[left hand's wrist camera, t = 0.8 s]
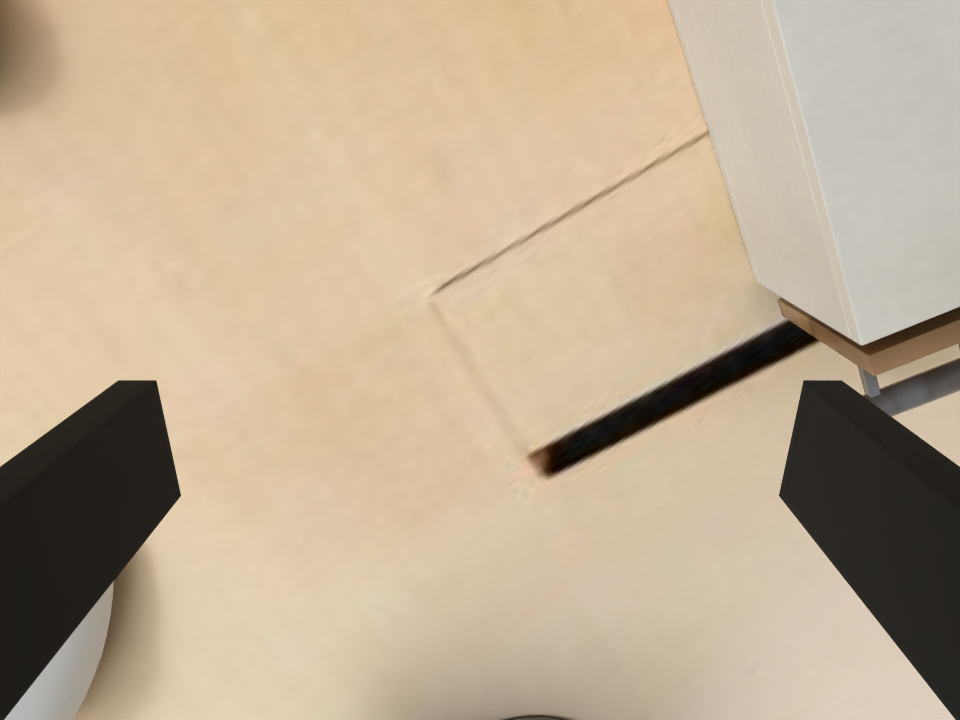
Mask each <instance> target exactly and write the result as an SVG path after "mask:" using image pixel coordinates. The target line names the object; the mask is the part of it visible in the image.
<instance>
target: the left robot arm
mask: <svg viewBox="0 0 960 720" xmlns="http://www.w3.org/2000/svg"><path fill="white" fill-rule="evenodd" d="M180 496H181V494H180V489H179V484H178V480H177V475H176V470H175V466H174V461H173V456H172V452H171V447H170V442H169V438H168V433H167V428H166V424H165V419H164V414H163V410H162V405H161V400H160V396H159V391H158V386H157V382H156V381H117V382H116V383H114V384H113V385H112V386H110V387H109V388H108V389H106V390H105V391H103V392H102V393H101V394H99V395H98V396H97V397H95V398H94V399H93V400H91V401H90V402H88V403H87V404H86V405H84V406H83V407H82V408H80V409H79V410H77V411H76V412H75V413H73V414H72V415H71V416H69V417H68V418H67V419H65V420H64V421H62V422H61V423H60V424H58V425H57V426H56V427H54V428H53V429H51V430H50V431H49V432H47V433H46V434H45V435H43V436H42V437H41V438H39V439H38V440H36V441H35V442H34V443H32V444H31V445H30V446H28V447H27V448H25V449H24V450H23V451H21V452H20V453H19V454H17V455H16V456H15V457H13V458H12V459H10V460H9V461H8V462H6V463H5V464H4V465H2V466H1V467H0V720H4V719H5V718H6V717H7V716H8V714H9V713H10V712H11V711H12V709H13V708H14V707H15V705H16V704H17V703H18V702H19V700H20V699H21V698H22V697H23V695H24V694H25V693H26V692H27V690H28V689H29V688H30V686H31V685H32V684H33V683H34V681H35V680H36V679H37V678H38V676H39V675H40V674H41V673H42V671H43V670H44V669H45V667H46V666H47V665H48V664H49V662H50V661H51V660H52V659H53V657H54V656H55V655H56V653H57V652H58V651H59V650H60V648H61V647H62V646H63V645H64V643H65V642H66V641H67V640H68V638H69V637H70V636H71V634H72V633H73V632H74V631H75V629H76V628H77V627H78V626H79V624H80V623H81V622H82V621H83V619H84V618H85V617H86V615H87V614H88V613H89V612H90V610H91V609H92V608H93V607H94V605H95V604H96V603H97V601H98V600H99V599H100V598H101V596H102V595H103V594H104V593H105V591H106V590H107V589H108V588H109V586H110V585H111V584H112V582H113V581H114V580H115V579H116V577H117V576H118V575H119V574H120V572H121V571H122V570H123V569H124V567H125V566H126V565H127V563H128V562H129V561H130V560H131V558H132V557H133V556H134V555H135V553H136V552H137V551H138V550H139V548H140V547H141V546H142V544H143V543H144V542H145V541H146V539H147V538H148V537H149V536H150V534H151V533H152V532H153V530H154V529H155V528H156V527H157V525H158V524H159V523H160V522H161V520H162V519H163V518H164V517H165V515H166V514H167V513H168V511H169V510H170V509H171V508H172V506H173V505H174V504H175V503H176V501H177V500H178V499H179V498H180ZM779 496H780V498H781V499H782V500H783V501H784V503H785V504H786V505H787V506H788V508H789V509H790V510H791V511H792V513H793V514H794V515H795V517H796V518H797V519H798V520H799V522H800V523H801V524H802V525H803V527H804V528H805V529H806V530H807V532H808V533H809V534H810V536H811V537H812V538H813V539H814V541H815V542H816V543H817V544H818V546H819V547H820V548H821V550H822V551H823V552H824V553H825V555H826V556H827V557H828V558H829V560H830V561H831V562H832V563H833V565H834V566H835V567H836V569H837V570H838V571H839V572H840V574H841V575H842V576H843V577H844V579H845V580H846V581H847V582H848V584H849V585H850V586H851V588H852V589H853V590H854V591H855V593H856V594H857V595H858V596H859V598H860V599H861V600H862V601H863V603H864V604H865V605H866V607H867V608H868V609H869V610H870V612H871V613H872V614H873V615H874V617H875V618H876V619H877V621H878V622H879V623H880V624H881V626H882V627H883V628H884V629H885V631H886V632H887V633H888V634H889V636H890V637H891V638H892V640H893V641H894V642H895V643H896V645H897V646H898V647H899V648H900V650H901V651H902V652H903V653H904V655H905V656H906V657H907V659H908V660H909V661H910V662H911V664H912V665H913V666H914V667H915V669H916V670H917V671H918V673H919V674H920V675H921V676H922V678H923V679H924V680H925V681H926V683H927V684H928V685H929V686H930V688H931V689H932V690H933V692H934V693H935V694H936V695H937V697H938V698H939V699H940V700H941V702H942V703H943V704H944V705H945V707H946V708H947V709H948V711H949V712H950V713H951V714H952V716H953V717H954V718H955V719H956V720H960V467H959V466H958V465H956V464H955V463H954V462H952V461H951V460H950V459H948V458H947V457H945V456H944V455H943V454H941V453H940V452H939V451H937V450H936V449H935V448H933V447H932V446H930V445H929V444H928V443H926V442H925V441H924V440H922V439H921V438H919V437H918V436H917V435H915V434H914V433H913V432H911V431H910V430H909V429H907V428H906V427H904V426H903V425H902V424H900V423H899V422H898V421H896V420H895V419H893V418H892V417H891V416H889V415H888V414H887V413H885V412H884V411H883V410H881V409H880V408H878V407H877V406H876V405H874V404H873V403H872V402H870V401H869V400H867V399H866V398H865V397H863V396H862V395H861V394H859V393H858V392H857V391H855V390H854V389H852V388H851V387H850V386H848V385H847V384H846V383H844V382H843V381H804V382H803V386H802V391H801V396H800V400H799V405H798V410H797V414H796V419H795V424H794V428H793V433H792V438H791V442H790V447H789V452H788V456H787V461H786V466H785V470H784V475H783V480H782V484H781V489H780V494H779ZM513 720H559V719H553V718H543V717H529V718H518V719H513Z"/></svg>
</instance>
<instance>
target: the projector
mask: <svg viewBox="0 0 960 720" xmlns="http://www.w3.org/2000/svg"><path fill="white" fill-rule="evenodd" d="M113 587H114V581H113V582H112V584H111V585H110V586H109V588H108V589H107V590H106V591H105V593H104V594H103V595H102V596H101V598H100V599H99V600H98V601H97V603H96V604H95V605H94V607H93V608H92V609H91V610H90V612H89V613H88V614H87V615H86V617H85V618H84V619H83V621H82V622H81V623H80V624H79V626H78V627H77V628H76V629H75V631H74V632H73V633H72V634H71V636H70V637H69V638H68V640H67V641H66V642H65V643H64V645H63V646H62V647H61V648H60V650H59V651H58V652H57V653H56V655H55V656H54V657H53V659H52V660H51V661H50V662H49V664H48V665H47V666H46V667H45V669H44V670H43V671H42V673H41V674H40V675H39V676H38V678H37V679H36V680H35V681H34V683H33V684H32V685H31V686H30V688H29V689H28V690H27V692H26V693H25V694H24V695H23V697H22V698H21V699H20V700H19V702H18V703H17V704H16V705H15V707H14V708H13V709H12V711H11V712H10V713H9V714H8V716H7V717H6V718H5V719H4V720H74V718H75V716H76V714H77V713H78V711H79V709H80V707H81V705H82V703H83V701H84V699H85V697H86V695H87V692H88V690H89V688H90V685H91V683H92V681H93V678H94V676H95V673H96V670H97V668H98V665H99V662H100V659H101V656H102V652H103V648H104V645H105V641H106V637H107V632H108V627H109V622H110V616H111V608H112V600H113Z"/></svg>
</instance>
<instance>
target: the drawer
mask: <svg viewBox="0 0 960 720" xmlns="http://www.w3.org/2000/svg"><path fill="white" fill-rule="evenodd" d="M778 303H779V306H780V309H781V312H782V316H784V317H785V318H787V319H788V320H790V321H791V322H793V323H794V324H796V325H797V326H799V327H800V328H802V329H803V330H805V331H806V332H808V333H809V334H811V335H812V336H814V337H815V338H817V339H818V340H820V341H821V342H823V343H824V344H826V345H827V346H829V347H830V348H832V349H833V350H835V351H836V352H838V353H839V354H841V355H842V356H844V357H845V358H847V359H849V360H850V361H852V362H853V363H855V364H856V365H858V369H859V373H860V377H861V380H862V384H863V388H864V392H865V395H862V396H863V397H865V398H866V399H867V400H869V401H870V402H872V403H873V404H874V405H876V406H877V407H878V408H880V409H881V410H883V411H884V412H885V413H887V414H888V415H889V416H891V417H892V416H894V415H897V414H900V413H902V412H905V411H908V410H910V409H913V408H916V407H918V406H921V405H923V404H926V403H929V402H931V401H934V400H937V399H939V398H942V397H945V396H947V395H950V394H953V393H955V392H958V391H960V358H958V359H955V360H953V361H950V362H947V363H945V364H942V365H940V366H937V367H935V368H932V369H929V370H927V371H924V372H922V373H919V374H916V375H914V376H911V377H909V378H906V379H904V380H901V381H898V382H896V383H893V384H891V385H888V386H885V387H883V388H880V389H879V385H878V381H877V377H876V375H878V374H881V373H884V372H886V371H889V370H891V369H894V368H896V367H899V366H901V365H904V364H907V363H909V362H912V361H914V360H917V359H919V358H922V357H924V356H927V355H930V354H932V353H935V352H937V351H940V350H942V349H945V348H947V347H950V346H953V345H955V344H958V343H959V348H960V307H958V308H955V309H953V310H950V311H948V312H945V313H943V314H940V315H938V316H935V317H933V318H930V319H928V320H925V321H923V322H920V323H918V324H915V325H913V326H910V327H908V328H905V329H903V330H900V331H898V332H895V333H893V334H890V335H888V336H885V337H883V338H880V339H878V340H875V341H873V342H870V343H868V344H865V345H860V344H858V343H856V342H855V341H853V340H852V339H850V338H848V337H846V336H845V335H843V334H841V333H840V332H838V331H836V330H835V329H833V328H831V327H830V326H828V325H826V324H825V323H823V322H822V321H820V320H818V319H817V318H815V317H813V316H812V315H810V314H808V313H807V312H805V311H803V310H802V309H800V308H798V307H797V306H795V305H793V304H792V303H790V302H788V301H787V300H785V299H783V298H781V299H778Z"/></svg>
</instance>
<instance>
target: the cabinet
mask: <svg viewBox="0 0 960 720" xmlns="http://www.w3.org/2000/svg"><path fill="white" fill-rule="evenodd" d="M668 3H669V6H670V9H671V12H672V15H673V18H674V22H675V25H676V28H677V31H678V34H679V38H680V41H681V44H682V47H683V50H684V54H685V57H686V60H687V63H688V66H689V69H690V73H691V76H692V79H693V82H694V85H695V89H696V92H697V95H698V98H699V101H700V105H701V108H702V111H703V114H704V117H705V120H706V124H707V127H708V130H709V133H710V136H711V140H712V143H713V146H714V149H715V152H716V156H717V159H718V162H719V165H720V168H721V171H722V175H723V178H724V181H725V184H726V187H727V191H728V194H729V197H730V200H731V203H732V207H733V210H734V213H735V216H736V219H737V222H738V226H739V229H740V232H741V235H742V238H743V242H744V245H745V248H746V251H747V254H748V258H749V261H750V264H751V267H752V270H753V273H754V277H755V280H756V282H757V283H758V284H760V285H762V286H763V287H765V288H767V289H768V290H770V291H772V292H773V293H775V294H777V295H778V296H780V297H782V298H783V299H785V300H787V301H788V302H790V303H792V304H793V305H795V306H797V307H798V308H800V309H802V310H803V311H805V312H807V313H808V314H810V315H812V316H813V317H815V318H817V319H818V320H820V321H822V322H823V323H825V324H826V325H828V326H830V327H831V328H833V329H835V330H836V331H838V332H840V333H841V334H843V335H845V336H846V337H848V338H850V339H852V340H853V341H855V342H856V343H858V344H860V345H865V344H868V343H870V342H873V341H875V340H878V339H880V338H883V337H885V336H888V335H890V334H893V333H895V332H898V331H900V330H903V329H905V328H908V327H910V326H913V325H915V324H918V323H920V322H923V321H925V320H928V319H930V318H933V317H935V316H938V315H940V314H943V313H945V312H948V311H950V310H953V309H955V308H958V307H960V0H668Z"/></svg>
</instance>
